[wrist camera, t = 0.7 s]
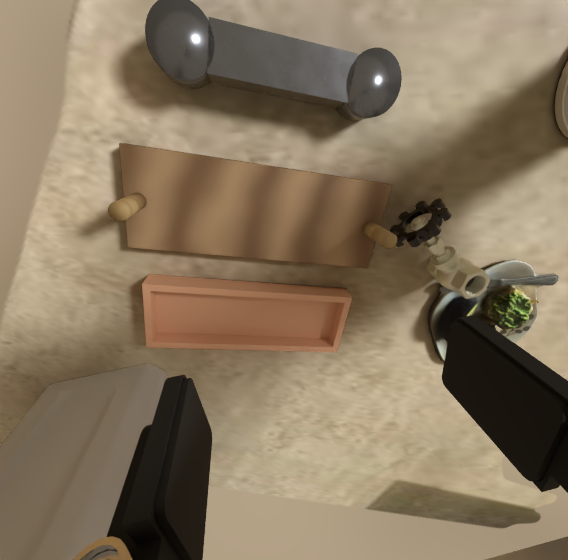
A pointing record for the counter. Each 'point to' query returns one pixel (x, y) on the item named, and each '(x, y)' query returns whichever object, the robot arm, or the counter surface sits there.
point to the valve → (440, 250)
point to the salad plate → (492, 303)
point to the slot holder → (242, 314)
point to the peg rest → (248, 209)
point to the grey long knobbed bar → (269, 62)
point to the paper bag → (72, 461)
